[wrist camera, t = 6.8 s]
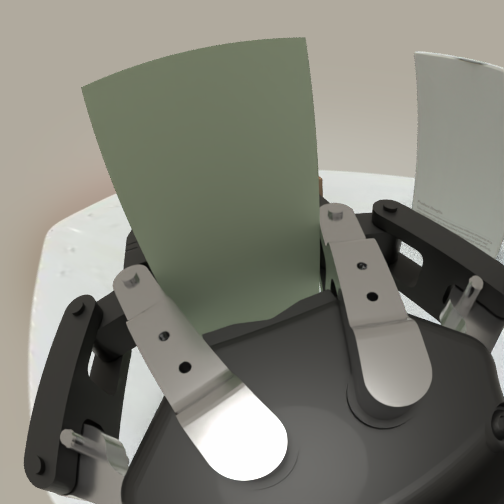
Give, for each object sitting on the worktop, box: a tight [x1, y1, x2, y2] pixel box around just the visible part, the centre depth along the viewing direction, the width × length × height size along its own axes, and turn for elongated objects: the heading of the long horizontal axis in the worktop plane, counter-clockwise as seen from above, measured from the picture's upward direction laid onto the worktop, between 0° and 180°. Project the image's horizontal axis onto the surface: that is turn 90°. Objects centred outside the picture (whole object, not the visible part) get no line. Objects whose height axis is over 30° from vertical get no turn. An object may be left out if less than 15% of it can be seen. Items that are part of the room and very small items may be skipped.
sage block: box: [81, 38, 320, 338], centre depth 11 cm, size 5×5×14 cm
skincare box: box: [412, 52, 504, 260], centre depth 14 cm, size 8×6×15 cm
